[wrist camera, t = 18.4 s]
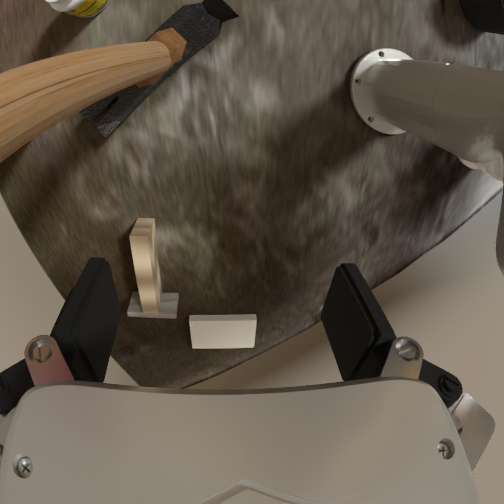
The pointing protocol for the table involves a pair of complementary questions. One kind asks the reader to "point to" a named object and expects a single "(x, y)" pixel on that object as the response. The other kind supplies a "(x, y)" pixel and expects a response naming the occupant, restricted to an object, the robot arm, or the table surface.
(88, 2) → the supplement bottle
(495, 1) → the pen holder
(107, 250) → the table surface
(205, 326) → the tile
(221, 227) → the table surface
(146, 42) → the hammer
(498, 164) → the decorative container
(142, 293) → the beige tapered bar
